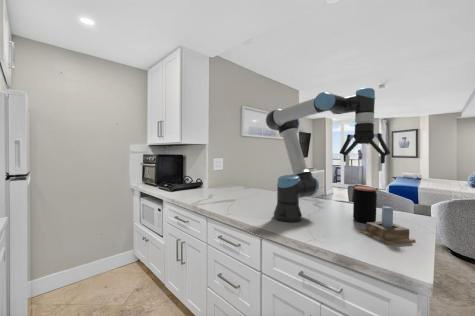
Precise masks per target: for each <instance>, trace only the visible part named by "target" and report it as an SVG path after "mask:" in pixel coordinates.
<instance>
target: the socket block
mask: <svg viewBox="0 0 475 316" xmlns="http://www.w3.org/2000/svg"><path fill="white" fill-rule="evenodd" d="M365 225H366V226H365V229H362V230H361V229H360V233H362V234H364V235H366V236H368V237H370V238H373V239H375V240H377V241H379V242H382V243H384V244H386V245H396V244H397V245H398V244H405V243H406V244H408V243H416V239H414V238H411V237H410V229H409V228H406V227H404V226H400V225H399V224H395V223H393V228H388V229H387V228H385V227H382V226H381V225H382V221H375V222H367V223H365Z"/></svg>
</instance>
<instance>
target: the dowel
mask: <svg viewBox="0 0 475 316" xmlns="http://www.w3.org/2000/svg"><path fill="white" fill-rule="evenodd" d="M381 222H382V225H381V226H382V227H385V228H387V229H388V228H393V224H394V223H393V222H394V207H392V206H381Z"/></svg>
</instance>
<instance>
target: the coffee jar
mask: <svg viewBox="0 0 475 316" xmlns="http://www.w3.org/2000/svg"><path fill="white" fill-rule="evenodd" d="M353 189H354V191H353V209H352V211H353V213H352V218H353V220H354V221H356V222H357V223H361V224H366V223H367V222H377V203H378V202H377V199H378V198H377V197H378V196H377V195H378V194H377V190H378V188H377V187H373V186H363V185H357V186H356V185H355V186H354V187H353Z"/></svg>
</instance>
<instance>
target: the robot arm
mask: <svg viewBox="0 0 475 316" xmlns="http://www.w3.org/2000/svg"><path fill="white" fill-rule="evenodd" d="M375 100H376V93H375V89H374V88H372V87H362V88H359V89H357V90H356V92H355V94H354V95H352V96H345V97H344V96H341V95H337V94H334V93H331V92H325V91H324V92H320V93H318V94H317V95H316V97H315V98H310V99H308V100H305V101H302V102H299V103H297V104H296V103H295V104H294V105H291V106H287V107H285V108H282V109H280V108H276V109H274V110H271V111H270V112H269V113H268V114H267V115H266V118H265V123H266V125H267V127H268V128H269V129H270V130H272V131H278V133H279V136H280V137H282V138H283V141H284V142H283V143H284V146H285V148H286V152H287V156H288V159H289V164H290V167H291V171H292V174H286V175H281V176H279V177H277V184H276V185H277V186H276V187H277V188H276V189H277V190H276V191H277V193H276V195H277V197H276V200H277V201H276V206H275V208H274V212H273V219H274V220H276V221H279V222H284V223H285V222H286V223H296V222H301V221H302V219H303V215H302V212H301V208H300V198H308V197H312V196H315V195H316V194H317V193H318V191H319V188H320V182H319V180H318V179H317V178H316V177H315V176H313V174H312V171H311V170H310V169H308V167H307V163H306V160H305V157H304V153H303V151H302V147H301V144H300V143H301V142H300V140H299V137H298V131H299V125H300V120H299V119H303V118H306V117H308V116H314V115H317V114H320V113H324V112H330V113H332V114H333V115H344V114H348V113H349V114H350V113H354V112H355V115H354V123H355V125H354V134H347V135H346V139H345V142H344V143H343V145H342V147H341V149H340V151H339V154H341V155H343V162H344V163H345V166H344V168H345V170H349V169H350V157H351V156H350V155H349V154H350V153H351V152H352V151H353V150H354V149H355V148H356V147H357V146H358V145H359V144H360V145H363V144H365V145H368V144H369V145H371V146H372V148H374V149H375V151H376V152H377V153H378V154H379V155H378V158H377V159H378V163H377V164H378V165H377V166H378V168H377V171H378V172H382V170H383V164H385V162H386V156H388V155H391V151H390V149H389V147H388V146H387V144H386V142H385V140H384V138H383V134H382V133H380V132H377V133H374V131H375V124H374V122H375ZM353 138H354V141H353V142H352V143H351V141H352V140H353ZM374 138H376V139H377V140H378V142H379V144H380V146H381V148H382V149H381V148H380V147H379V145H378V144H376V142H375V141H374ZM350 143H351V144H350ZM349 144H350V146H349ZM348 146H349V147H348Z"/></svg>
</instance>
